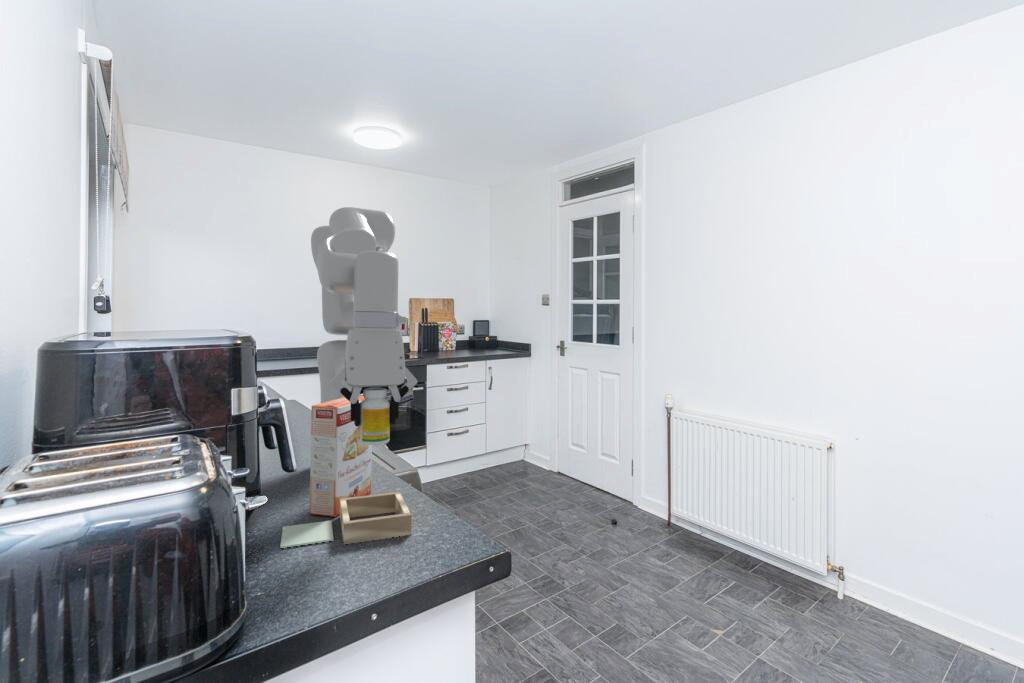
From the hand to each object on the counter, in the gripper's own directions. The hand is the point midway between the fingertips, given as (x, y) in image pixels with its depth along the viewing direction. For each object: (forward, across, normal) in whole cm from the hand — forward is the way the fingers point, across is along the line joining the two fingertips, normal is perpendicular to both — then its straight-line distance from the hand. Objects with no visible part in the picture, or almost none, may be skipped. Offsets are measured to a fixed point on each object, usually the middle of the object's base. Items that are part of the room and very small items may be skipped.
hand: (374, 422), depth 86 cm
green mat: (+19, +11, +1) cm, 22 cm away
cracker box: (+19, +4, -12) cm, 23 cm away
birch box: (+19, 0, +1) cm, 19 cm away
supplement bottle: (+4, 0, 0) cm, 4 cm away
